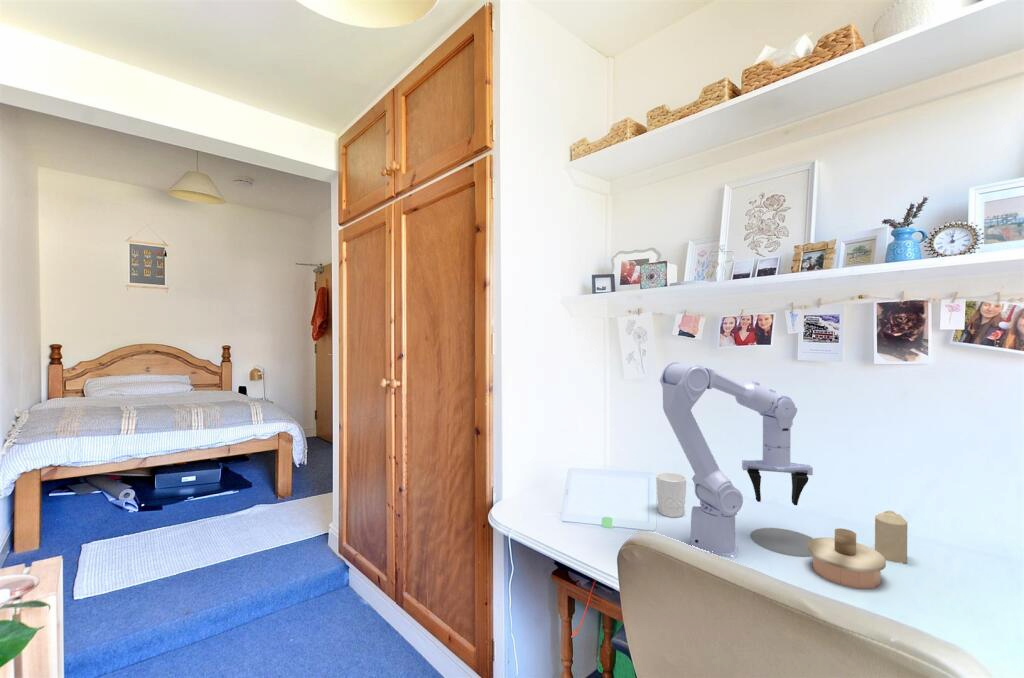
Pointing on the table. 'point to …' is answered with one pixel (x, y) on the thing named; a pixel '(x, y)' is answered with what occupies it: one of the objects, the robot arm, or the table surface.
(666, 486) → the white cup
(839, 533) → the lid
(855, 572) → the bowl
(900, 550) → the candle
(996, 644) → the table surface
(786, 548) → the mat
